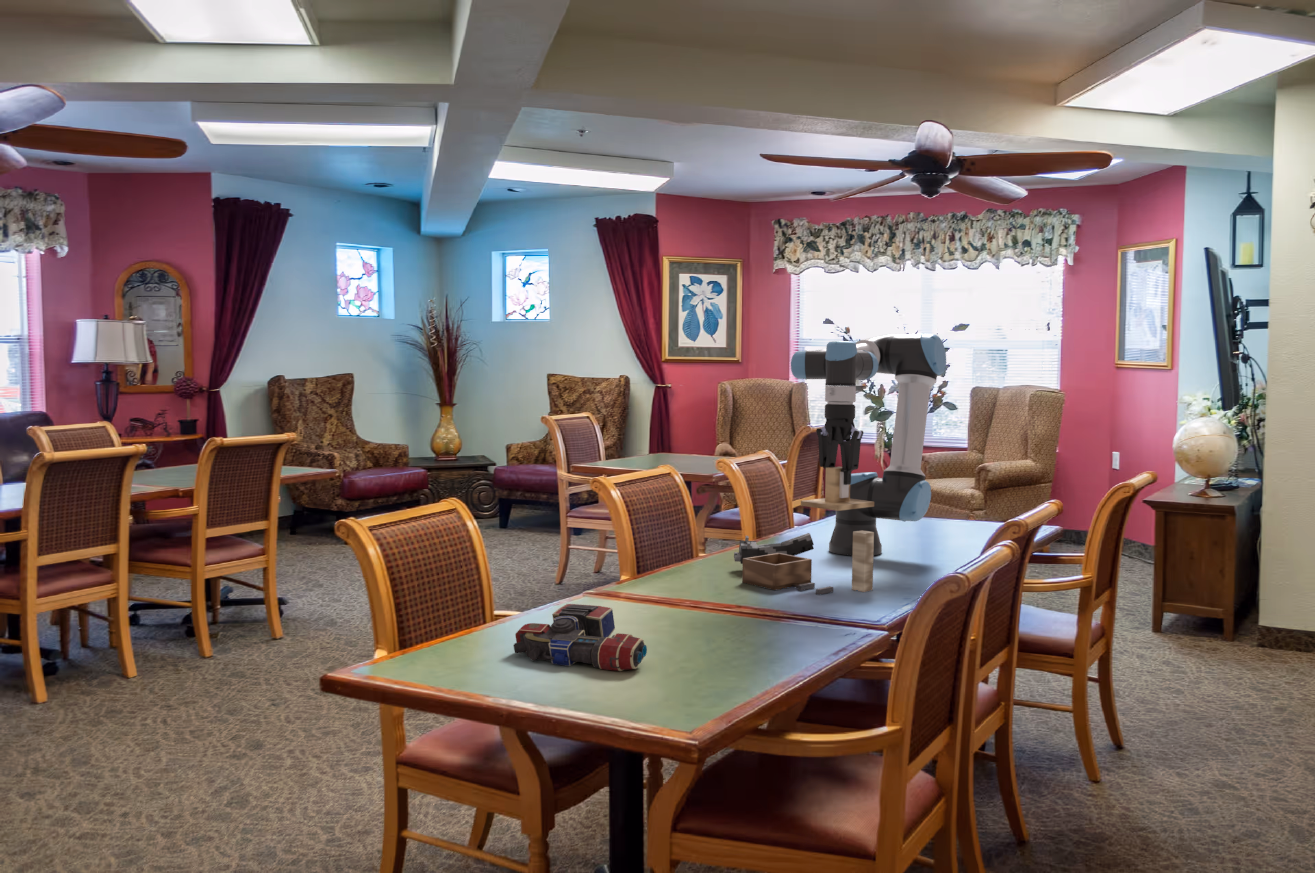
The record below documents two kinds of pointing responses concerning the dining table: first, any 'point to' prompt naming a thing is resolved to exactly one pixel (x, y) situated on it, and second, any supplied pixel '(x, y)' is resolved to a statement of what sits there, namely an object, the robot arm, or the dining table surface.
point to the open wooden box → (776, 571)
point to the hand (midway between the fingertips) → (838, 496)
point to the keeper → (812, 585)
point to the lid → (835, 495)
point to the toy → (774, 547)
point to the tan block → (862, 561)
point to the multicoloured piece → (581, 639)
